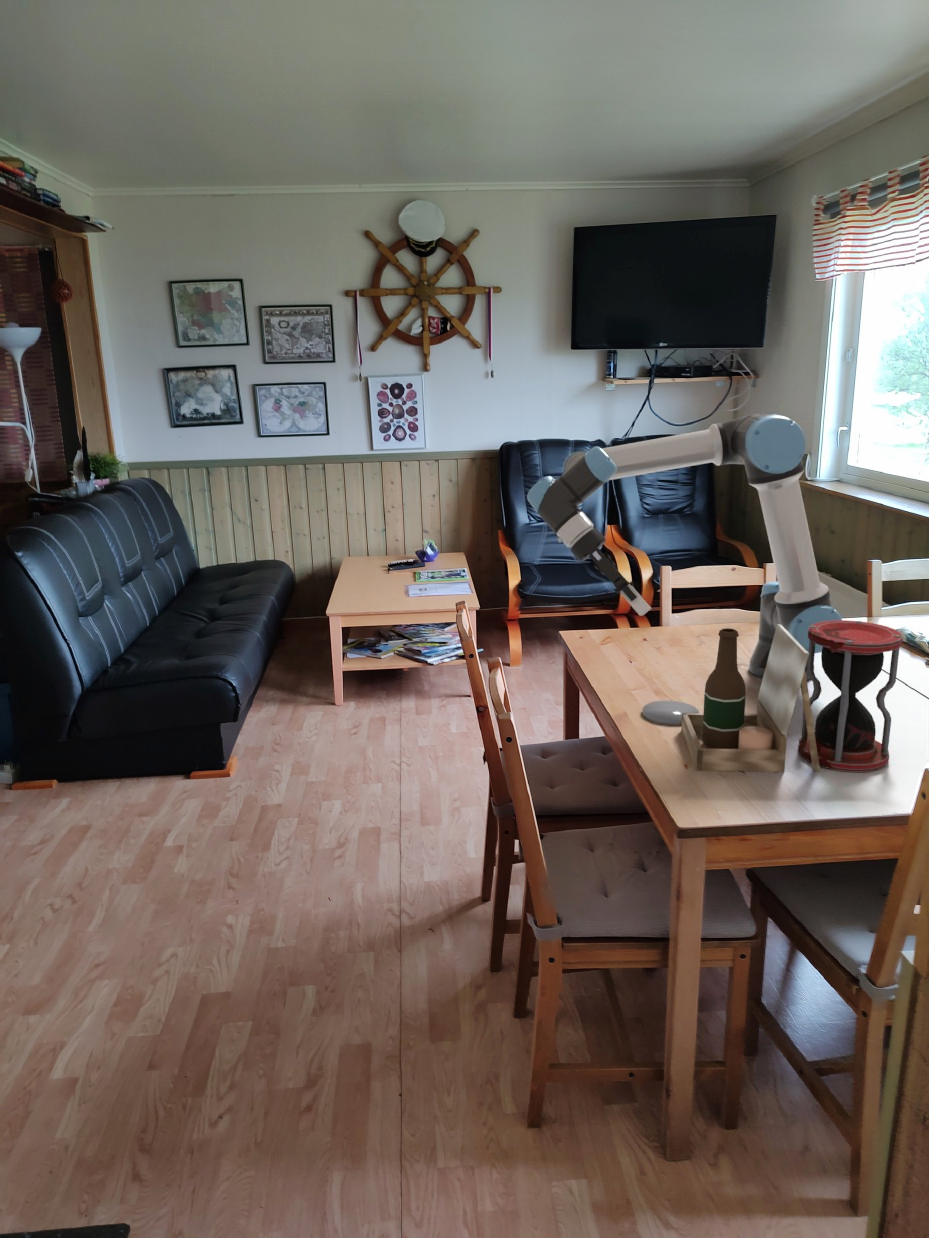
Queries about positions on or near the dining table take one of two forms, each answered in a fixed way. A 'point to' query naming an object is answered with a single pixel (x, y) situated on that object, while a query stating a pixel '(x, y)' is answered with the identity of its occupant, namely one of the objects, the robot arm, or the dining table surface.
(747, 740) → the tan rounded block
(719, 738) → the beer bottle
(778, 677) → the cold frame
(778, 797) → the dining table surface
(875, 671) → the hourglass
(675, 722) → the coaster
